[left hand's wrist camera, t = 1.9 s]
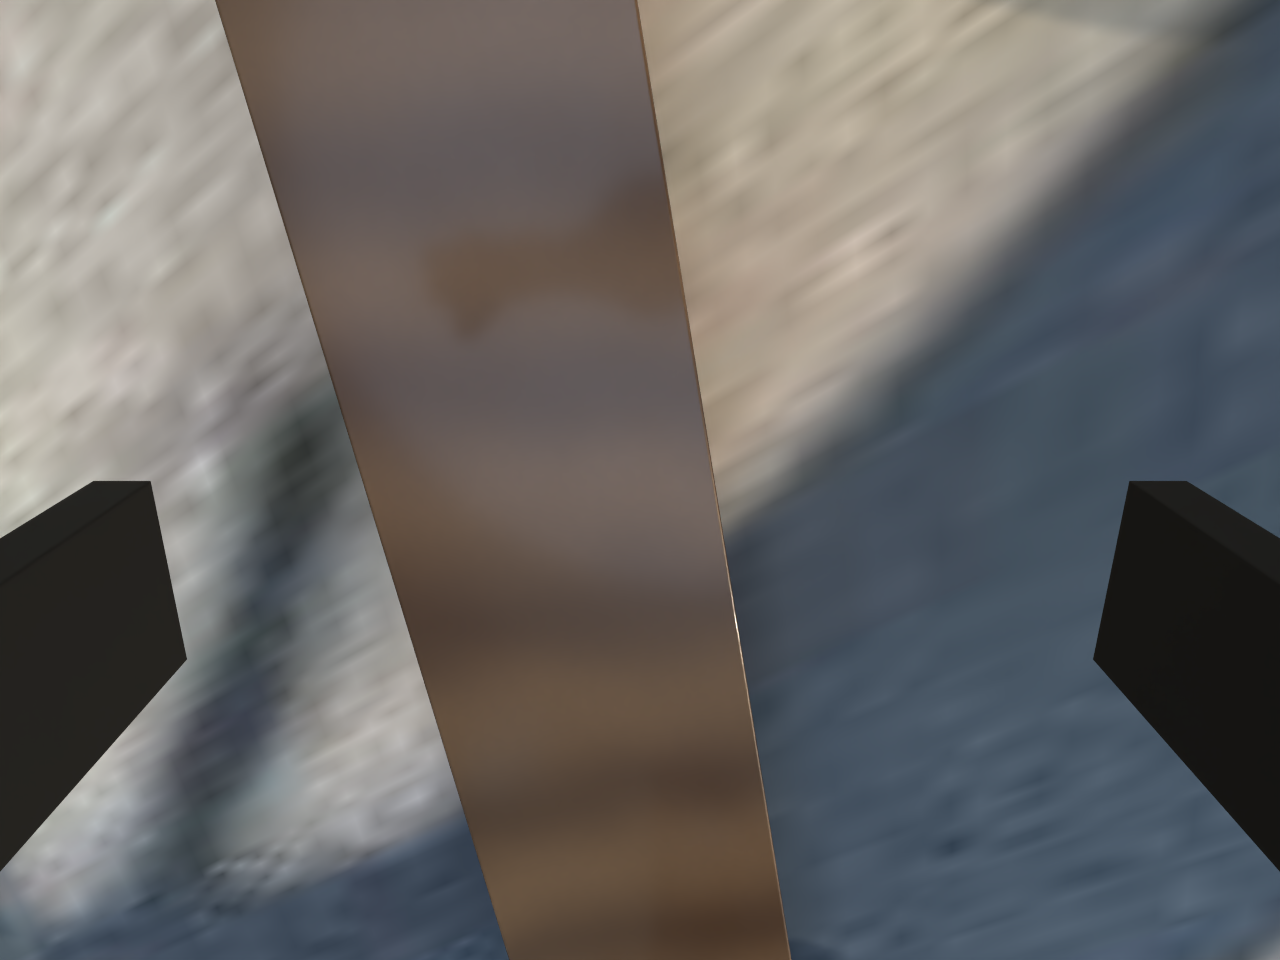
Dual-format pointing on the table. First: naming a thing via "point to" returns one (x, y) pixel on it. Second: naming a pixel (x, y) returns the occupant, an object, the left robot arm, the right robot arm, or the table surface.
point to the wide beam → (530, 448)
